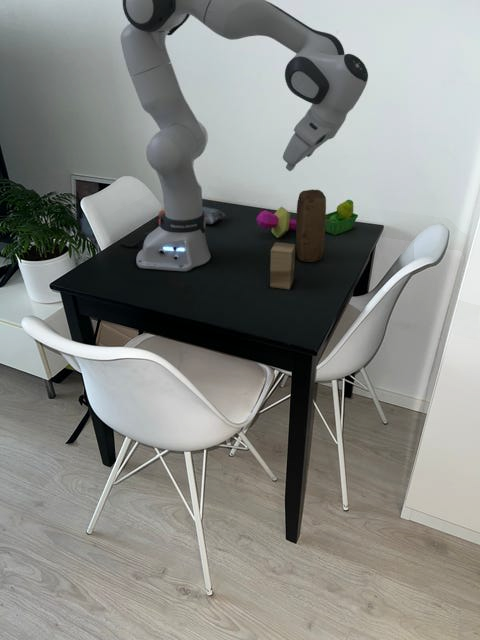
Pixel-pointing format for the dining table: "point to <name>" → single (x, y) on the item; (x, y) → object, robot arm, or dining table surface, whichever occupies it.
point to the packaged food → (212, 215)
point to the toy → (276, 221)
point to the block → (310, 225)
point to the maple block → (282, 265)
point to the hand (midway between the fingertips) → (298, 161)
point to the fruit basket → (341, 218)
